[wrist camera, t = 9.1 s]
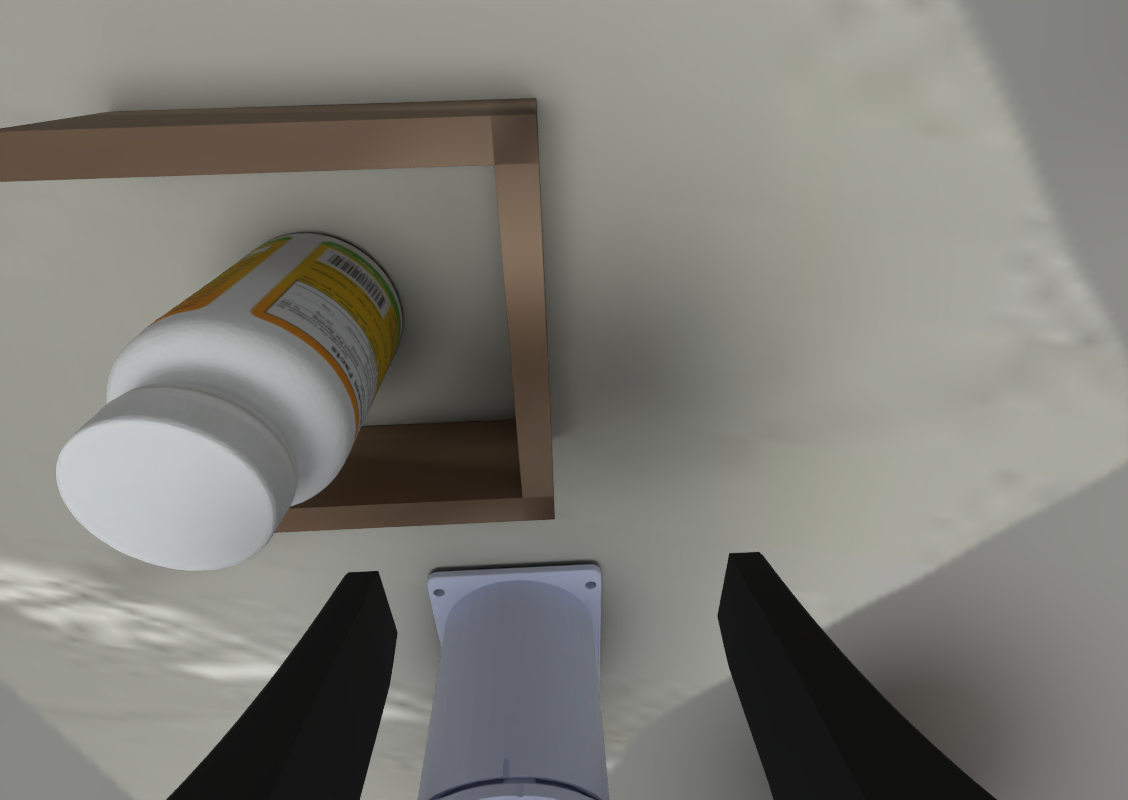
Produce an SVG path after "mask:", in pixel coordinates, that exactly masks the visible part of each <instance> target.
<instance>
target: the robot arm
mask: <svg viewBox="0 0 1128 800" xmlns="http://www.w3.org/2000/svg"><path fill="white" fill-rule="evenodd" d="M590 581H593V582H590ZM427 588H428V593H429V597H430V601H431V606H432V610H433V615H434V619H435V623H436V628H437V632H438V637H439V641H440V645H441V655H440V661H439V667H438V674H437V680H436V686H435V693H434V699H433V705H432V712H431V718H430V724H429V731H428V737H427V743H426V750H425V756H424V762H423V769H422V775H421V782H420V788H419V794H418V800H610V799H609V790H608V778H607V768H606V758H605V747H604V737H603V727H602V716H601V706H600V696H599V685H600V638H601V570H600V568H599V567H598V566H596V565H592V564H586V565H566V566H545V567H525V568H505V569H485V570H465V571H444V572H434V573H432V574H430V575H429V576H428V580H427ZM440 589H442V590H440ZM718 621H719V625H720V630H721V635H722V639H723V644H724V648H725V652H726V657H727V661H728V665H729V669H730V672H731V675H732V678H733V681H734V683H735V686H736V689H737V692H738V695H739V698H740V701H741V704H742V707H743V710H744V713H745V716H746V719H747V722H748V724H749V727H750V730H751V733H752V736H753V739H754V742H755V745H756V748H757V751H758V753H759V756H760V759H761V762H762V765H763V768H764V771H765V774H766V777H767V780H768V783H769V786H770V789H771V793H772V796H773V799H774V800H997V799H995V798H994V797H993V796H992V795H991V794H990V793H988V792H987V791H986V790H985V789H984V788H982V787H981V786H980V785H979V784H977V783H976V782H975V781H974V780H973V779H971V778H970V777H969V776H968V775H967V774H965V773H964V772H963V771H962V770H961V769H960V768H959V767H958V766H957V765H955V764H954V763H953V762H952V761H951V760H950V759H949V758H948V757H946V756H945V755H944V754H943V753H942V752H941V751H940V750H939V749H937V747H935V746H934V745H933V744H932V743H931V742H930V741H929V740H928V739H927V738H926V737H925V736H924V735H923V734H921V733H920V732H919V731H918V730H917V729H916V728H915V727H914V726H913V725H912V724H911V723H910V722H909V721H908V720H907V719H906V718H905V717H904V716H903V715H902V714H901V713H900V712H898V711H897V709H895V708H894V707H893V706H892V704H891V703H890V702H889V701H888V700H886V699H885V697H883V695H882V694H881V693H880V692H879V691H878V690H877V689H876V688H875V687H874V686H873V685H872V684H871V683H870V682H869V681H868V680H867V679H866V678H865V677H864V675H863V674H861V673H860V671H859V670H858V669H857V668H856V667H855V666H854V665H853V664H852V663H851V662H850V660H848V658H847V657H846V656H845V655H844V654H843V653H842V652H841V650H840V649H839V648H838V647H837V646H836V645H835V643H834V642H833V641H832V640H831V639H830V638H829V637H828V636H827V634H826V633H825V632H824V631H823V630H822V629H821V627H820V626H819V625H818V624H817V623H816V622H815V620H814V619H813V618H812V617H811V616H810V614H809V613H808V612H807V611H806V610H805V608H804V607H803V606H802V605H801V603H800V602H799V601H798V600H797V598H796V597H795V596H794V595H793V594H792V592H791V591H790V590H789V589H788V587H787V586H786V585H785V583H784V582H783V581H782V580H781V578H780V577H779V576H778V574H777V573H776V572H775V571H774V569H773V568H772V567H771V565H770V564H769V563H768V561H767V560H766V559H765V558H764V556H763V555H762V554H761V553H760V552H748V553H729V558H728V563H727V569H726V574H725V579H724V584H723V590H722V595H721V600H720V605H719V611H718ZM396 640H397V629H396V626H395V623H394V620H393V617H392V613H391V610H390V607H389V604H388V601H387V597H386V594H385V591H384V588H383V585H382V581H381V578H380V575H379V572H378V571H369V572H349V573H347V574H346V575H345V576H344V578H343V579H342V581H341V582H340V583H339V585H338V586H337V588H336V589H335V591H334V592H333V594H332V595H331V597H330V598H329V600H328V601H327V603H326V604H325V606H324V607H323V608H322V610H321V611H320V613H319V614H318V616H317V617H316V618H315V620H314V621H313V623H312V624H311V626H310V627H309V628H308V630H307V631H306V633H305V634H304V635H303V637H302V638H301V640H300V641H299V642H298V644H297V645H296V646H295V648H294V649H293V650H292V652H291V653H290V654H289V656H288V657H287V658H286V660H285V661H284V662H283V664H282V665H281V666H280V668H279V669H278V670H277V672H276V673H275V674H274V676H273V677H272V678H271V680H270V681H269V682H268V684H267V685H266V686H265V687H264V688H263V690H262V691H261V692H260V693H259V695H258V696H257V697H256V698H255V700H254V701H253V702H252V703H251V705H250V706H249V707H248V708H247V710H246V711H245V712H244V713H243V714H242V716H241V717H240V718H239V719H238V721H237V722H236V723H235V724H234V725H233V727H232V728H231V729H230V730H229V731H228V732H227V734H226V735H225V736H224V737H223V738H222V739H221V741H220V742H219V743H218V744H217V745H216V746H215V748H214V749H213V750H212V751H211V752H210V753H209V754H208V755H207V757H206V758H205V759H204V760H203V761H202V762H201V763H200V764H199V765H198V766H197V768H196V769H195V770H194V771H193V772H192V773H191V774H190V775H189V776H188V777H187V778H186V780H185V781H184V782H183V783H182V784H181V785H180V786H179V787H178V788H177V789H176V790H175V791H174V792H173V793H172V794H171V795H170V796H169V797H168V798H167V799H166V800H360V796H361V793H362V789H363V785H364V781H365V778H366V774H367V770H368V766H369V762H370V759H371V755H372V751H373V747H374V744H375V740H376V736H377V732H378V729H379V725H380V721H381V717H382V713H383V709H384V705H385V702H386V698H387V694H388V690H389V686H390V680H391V674H392V668H393V661H394V654H395V647H396Z"/></svg>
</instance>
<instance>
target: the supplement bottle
mask: <svg viewBox="0 0 1128 800" xmlns="http://www.w3.org/2000/svg"><path fill="white" fill-rule="evenodd" d="M401 331H402V311H401V306H400V303H399V299H398V297H397V294H396V292H395V290H394V288H393V286H392V284H391V282H390V281H389V279H388V278H387V276H386V275H385V273H384V272H383V271H382V270H381V269H380V267H379V266H378V265H377V264H376V263H375V262H374V261H373V260H371V259H370V258H369V257H368V256H367V255H365V254H364V253H363V252H361V251H360V250H358V249H357V248H355V247H353V246H351V245H350V244H348V243H345V242H343V241H341V240H338V239H335V238H332V237H329V236H324V235H319V234H312V233H298V234H290V235H285V236H281V237H278V238H275V239H273V240H270V241H268V242H266V243H264V244H263V245H261V246H260V247H258V248H256V249H255V250H253V251H252V252H251V253H249V254H248V255H246V256H245V257H244V258H242V259H241V260H240V261H239V262H237V263H236V264H235V265H233V266H232V267H230V268H229V269H228V270H226V271H225V272H223V273H222V274H221V275H220V276H218V277H217V278H215V279H214V280H213V281H211V282H210V283H208V284H207V285H205V286H204V287H203V288H202V289H200V290H199V291H197V292H196V293H194V294H193V295H192V296H190V297H189V298H187V299H186V300H185V301H183V302H182V303H180V304H179V305H178V306H176V307H174V308H173V309H172V310H170V311H169V312H168V313H166V314H165V315H164V316H162V317H160V318H159V319H157V320H156V321H155V322H153V323H152V324H151V325H149V326H148V327H147V328H146V329H145V330H143V331H142V332H141V333H140V334H139V335H138V336H137V337H136V338H134V339H133V340H132V341H131V342H130V343H129V344H128V345H127V346H126V347H125V348H124V349H123V351H122V352H121V353H120V355H119V356H118V358H117V359H116V361H115V363H114V365H113V367H112V369H111V372H110V375H109V379H108V385H107V405H105V406H104V407H103V408H102V409H101V410H100V411H99V412H98V413H97V414H96V415H95V416H94V417H93V418H92V419H90V420H89V421H88V422H87V423H86V424H85V425H84V426H82V427H81V428H80V429H79V430H78V431H77V432H76V433H75V434H74V435H73V436H72V437H71V438H70V439H69V440H68V441H67V443H66V444H65V445H64V447H63V448H62V450H61V453H60V455H59V458H58V461H57V465H56V479H57V484H58V488H59V492H60V494H61V497H62V499H63V500H64V502H65V504H66V506H67V507H68V509H69V510H70V511H71V513H72V514H73V515H74V517H75V518H76V519H77V520H78V521H79V522H80V523H81V524H82V525H83V526H84V527H85V528H86V529H87V530H88V531H90V532H91V533H92V534H93V535H95V536H96V537H97V538H99V539H100V540H102V541H103V542H105V543H106V544H108V545H110V546H111V547H113V548H114V549H116V550H118V551H120V552H122V553H124V554H126V555H129V556H131V557H134V558H137V559H139V560H142V561H144V562H148V563H151V564H154V565H158V566H162V567H167V568H172V569H179V570H197V571H198V570H216V569H221V568H226V567H230V566H233V565H236V564H239V563H241V562H244V561H246V560H248V559H249V558H251V557H253V556H254V555H255V554H257V553H258V552H259V551H261V550H262V549H263V548H264V547H265V546H266V544H267V543H268V542H269V540H270V539H271V537H272V536H273V534H274V532H275V531H276V529H277V527H278V526H279V524H280V522H281V521H282V519H283V517H284V516H285V514H286V513H287V511H288V509H289V508H290V507H291V506H294V505H296V504H299V503H302V502H304V501H306V500H308V499H310V498H312V497H313V496H315V495H316V494H318V493H319V492H321V491H322V490H323V489H324V488H325V487H327V486H328V485H329V484H330V483H331V482H332V481H333V479H334V478H335V477H336V476H337V475H338V473H339V472H340V470H341V468H342V467H343V465H344V463H345V461H346V459H347V457H348V455H349V453H350V451H351V449H352V447H353V445H354V442H355V440H356V438H357V435H358V433H359V431H360V428H361V426H362V424H363V422H364V420H365V417H366V415H367V413H368V411H369V409H370V406H371V404H372V402H373V400H374V398H375V395H376V393H377V391H378V389H379V387H380V385H381V382H382V380H383V378H384V376H385V374H386V371H387V369H388V367H389V365H390V363H391V361H392V358H393V356H394V354H395V352H396V349H397V346H398V343H399V340H400V337H401Z"/></svg>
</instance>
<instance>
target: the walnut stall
mask: <svg viewBox="0 0 1128 800" xmlns="http://www.w3.org/2000/svg"><path fill="white" fill-rule="evenodd" d="M476 165H494V166H495V178H496V190H497V202H498V214H499V225H500V237H501V249H502V261H503V273H504V284H505V296H506V308H507V320H508V332H509V344H510V355H511V367H512V379H513V391H514V403H515V415H516V420H501V421H478V422H455V423H432V424H409V425H387V426H364V427H361V428H360V431H359V433H358V435H357V438H356V440H355V442H354V445H353V447H352V449H351V451H350V453H349V455H348V457H347V459H346V461H345V463H344V465H343V467H342V468H341V470H340V472H339V473H338V475H337V476H336V477H335V478H334V479H333V481H332V482H331V483H330V484H329V485H328V486H327V487H325V488H324V489H323V490H322V491H321V492H319V493H318V494H316V495H315V496H313V497H312V498H310V499H308V500H306V501H304V502H302V503H299V504H296V505H294V506H291V507H290V508H289V509H288V511H287V513H286V514H285V516H284V517H283V519H282V521H281V522H280V524H279V526H278V527H277V529H276V531H275V532H274V533H276V532H297V531H318V530H339V529H360V528H381V527H402V526H423V525H444V524H465V523H486V522H507V521H528V520H549V519H555V512H554V486H553V461H552V435H551V413H550V391H549V369H548V347H547V325H546V303H545V281H544V259H543V237H542V214H541V192H540V170H539V148H538V126H537V104H536V98H529V99H497V100H466V101H434V102H403V103H371V104H340V105H308V106H277V107H245V108H214V109H182V110H151V111H119V112H105V113H98V114H92V115H85V116H79V117H72V118H66V119H59V120H53V121H46V122H40V123H33V124H27V125H20V126H14V127H7V128H1V129H0V182H9V181H38V180H67V179H96V178H126V177H155V176H184V175H213V174H242V173H272V172H301V171H330V170H359V169H389V168H418V167H447V166H476Z"/></svg>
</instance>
